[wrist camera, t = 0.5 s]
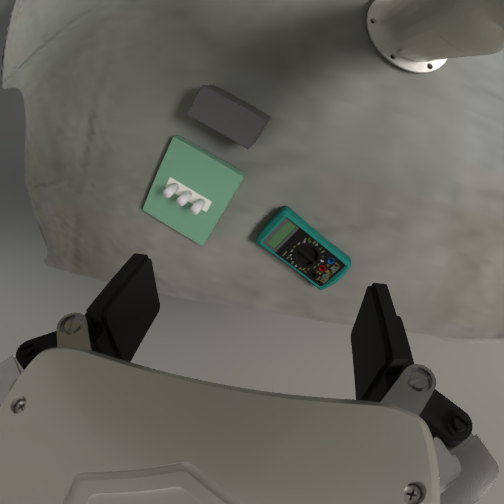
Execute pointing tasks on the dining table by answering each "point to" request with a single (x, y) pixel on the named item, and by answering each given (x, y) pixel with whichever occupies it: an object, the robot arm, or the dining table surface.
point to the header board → (191, 189)
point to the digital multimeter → (303, 249)
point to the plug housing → (228, 115)
